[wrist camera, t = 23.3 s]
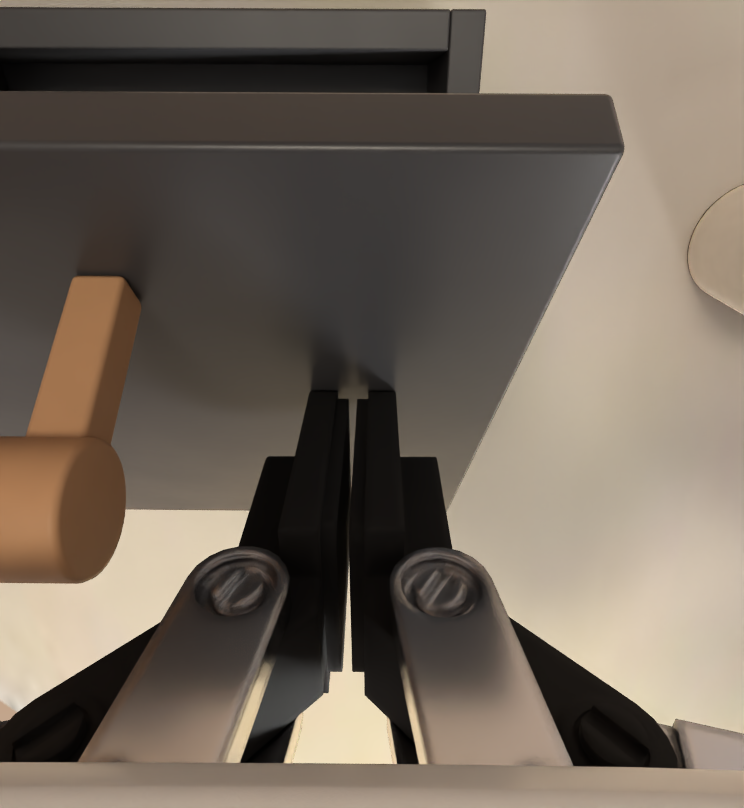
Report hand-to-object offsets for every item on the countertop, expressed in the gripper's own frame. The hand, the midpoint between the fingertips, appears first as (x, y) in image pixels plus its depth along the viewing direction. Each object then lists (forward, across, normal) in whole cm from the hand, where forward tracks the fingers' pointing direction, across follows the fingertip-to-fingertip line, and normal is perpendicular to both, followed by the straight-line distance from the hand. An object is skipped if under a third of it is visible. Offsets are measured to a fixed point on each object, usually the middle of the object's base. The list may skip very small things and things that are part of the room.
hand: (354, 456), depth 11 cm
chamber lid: (+2, +5, 0) cm, 5 cm away
